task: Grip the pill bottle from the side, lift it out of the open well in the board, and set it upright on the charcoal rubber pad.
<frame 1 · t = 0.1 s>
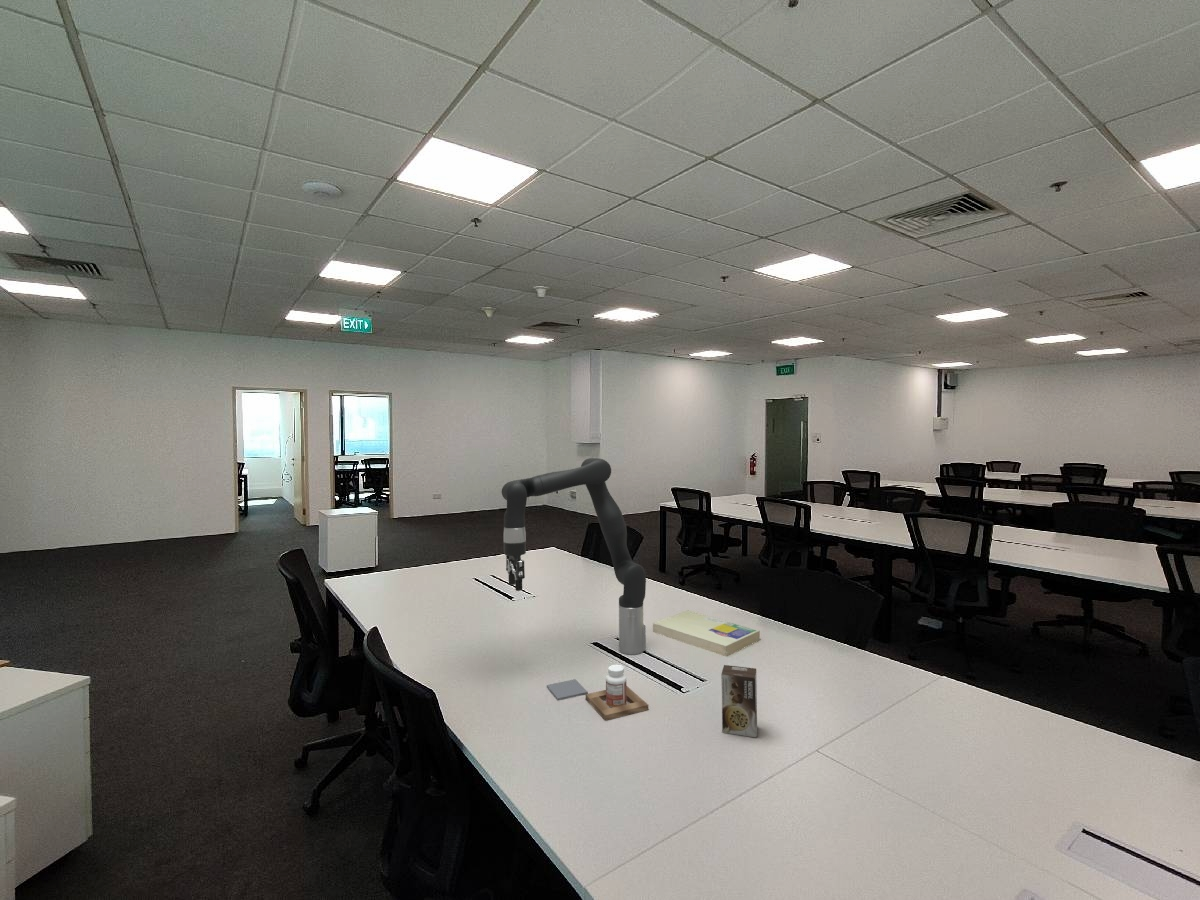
hand: (515, 587, 182), 29 cm above the table, tool pointing down, fingers open, 8 cm apart
pill bottle: (616, 705, 159), resting in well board
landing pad: (566, 690, 169), on the table
coffee box: (739, 730, 145), on the table
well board: (616, 704, 159), on the table
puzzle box: (705, 637, 216), on the table
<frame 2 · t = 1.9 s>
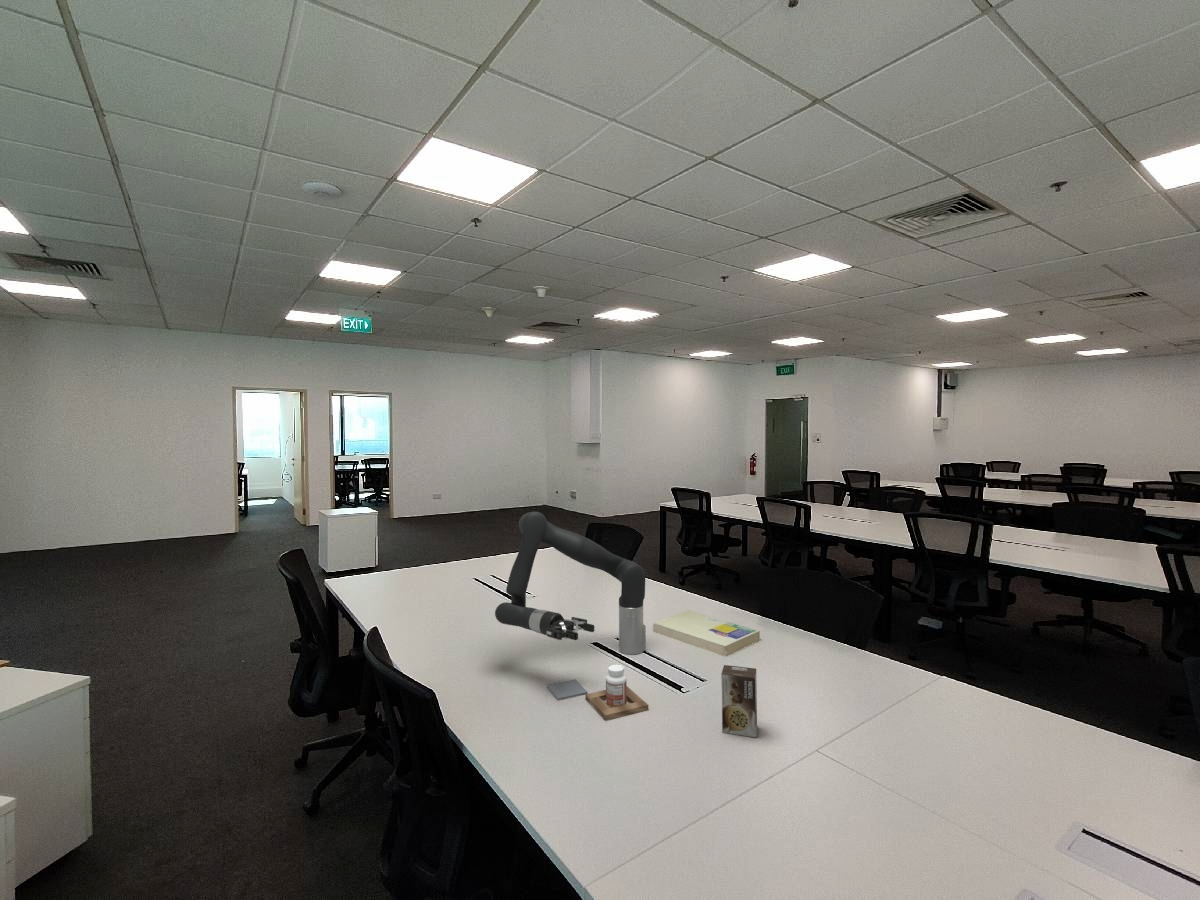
hand: (585, 632, 165), 19 cm above the table, tool horizontal, fingers open, 8 cm apart
nothing on the table moved.
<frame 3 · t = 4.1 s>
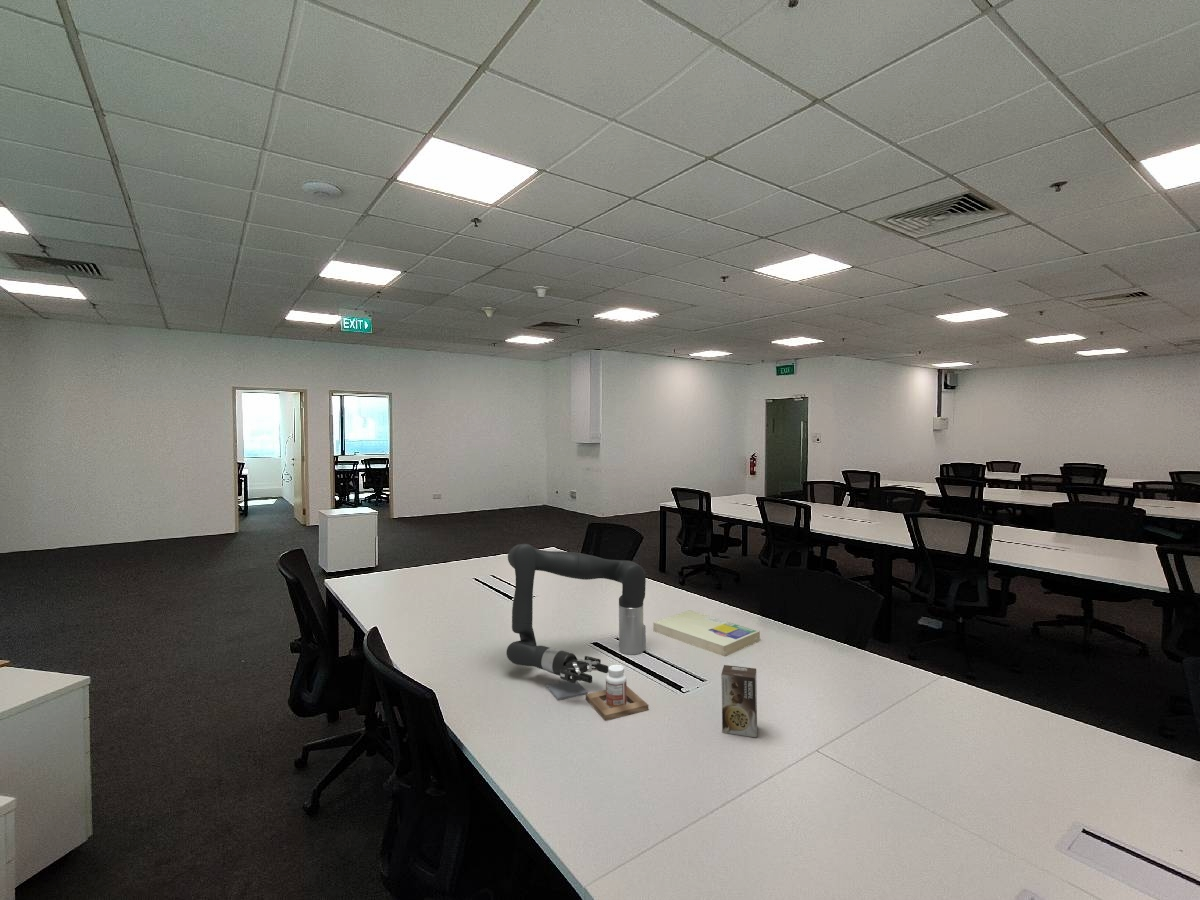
hand: (599, 674, 163), 8 cm above the table, tool horizontal, fingers open, 8 cm apart
nothing on the table moved.
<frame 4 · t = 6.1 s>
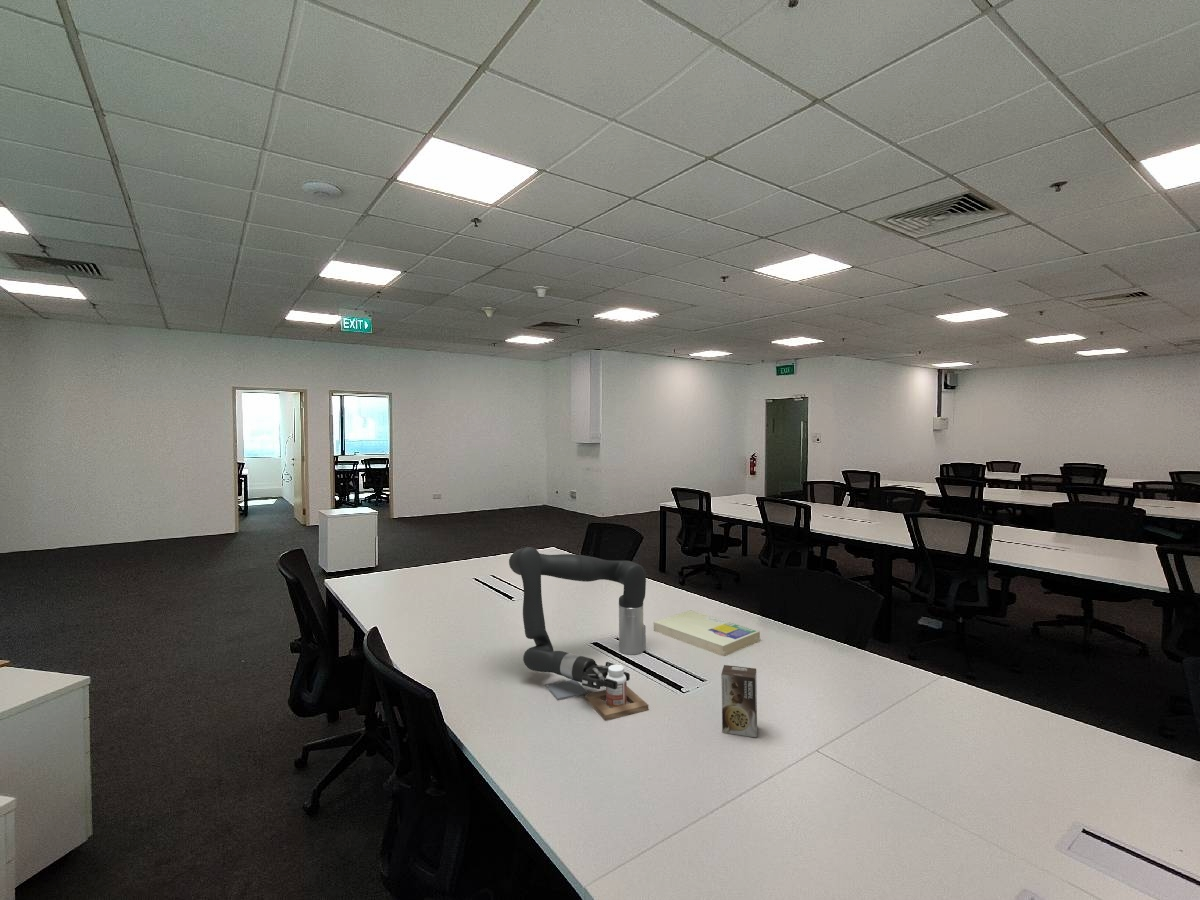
hand: (622, 681, 158), 8 cm above the table, tool horizontal, fingers closed on pill bottle, 6 cm apart
pill bottle: (616, 705, 159), resting in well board, touching gripper
everything else where it was.
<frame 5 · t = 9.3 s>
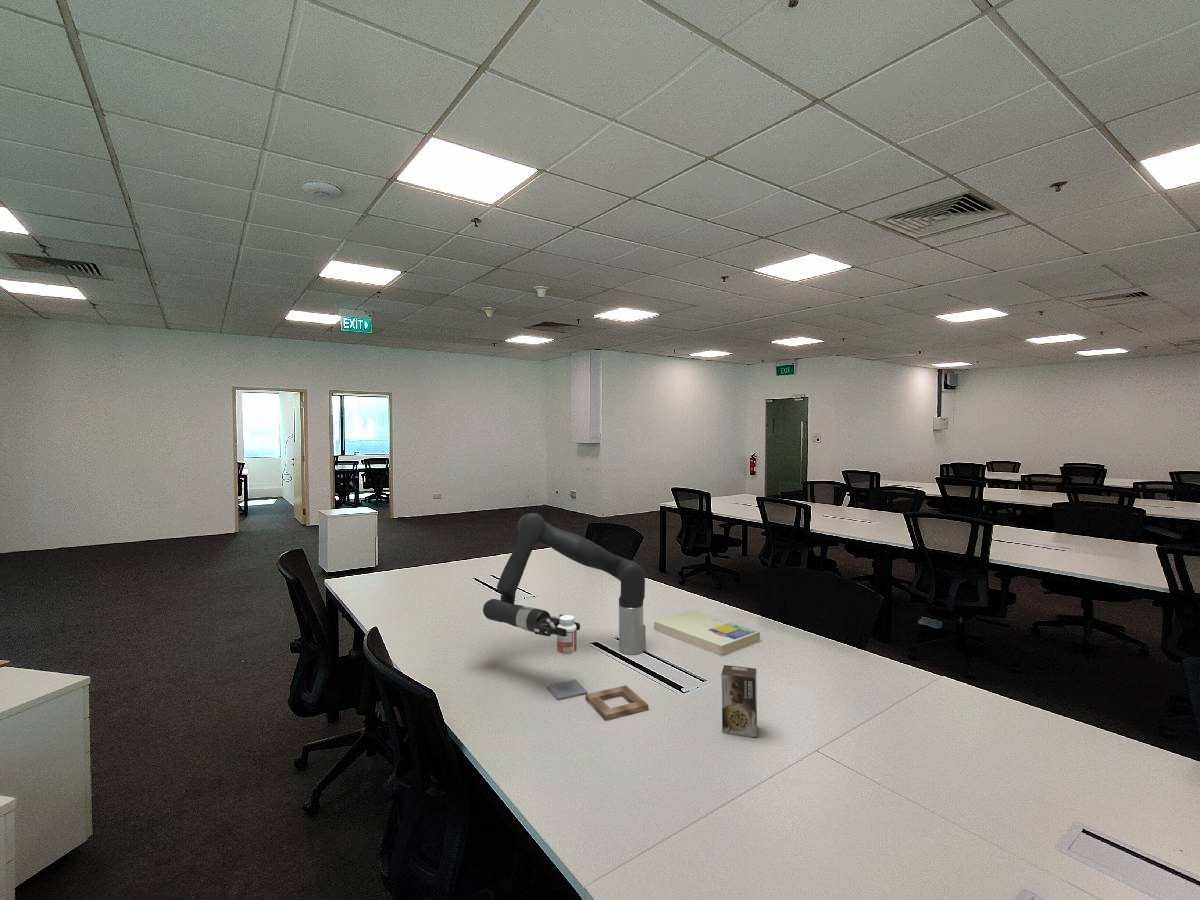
hand: (572, 630, 167), 20 cm above the table, tool horizontal, fingers closed on pill bottle, 6 cm apart
pill bottle: (566, 652, 168), point 12 cm above the table, touching gripper
when the fingers open (9 cm above the table, at t = 12.8 s): pill bottle drops 1 cm, resting on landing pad.
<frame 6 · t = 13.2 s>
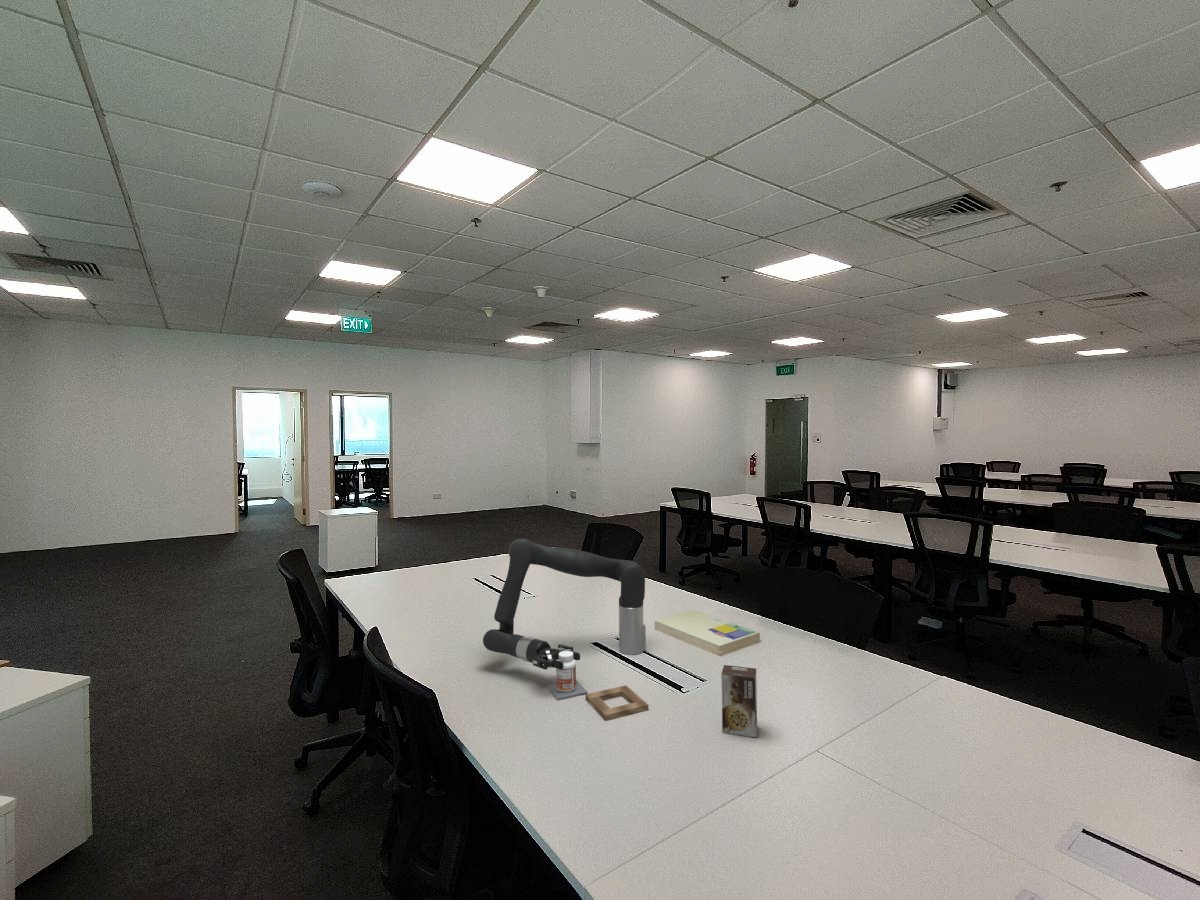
hand: (571, 661, 167), 10 cm above the table, tool horizontal, fingers open, 8 cm apart
pill bottle: (566, 688, 169), resting on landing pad
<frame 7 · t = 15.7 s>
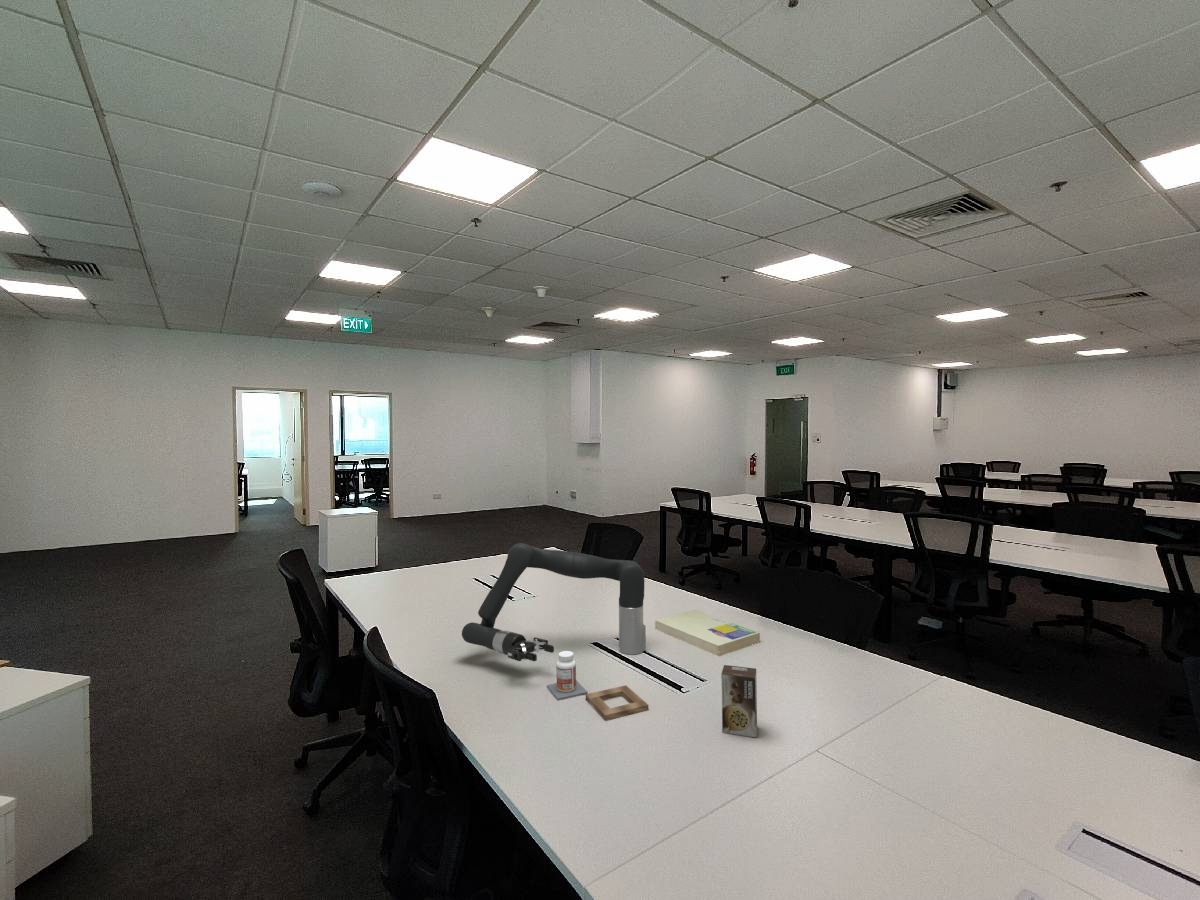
hand: (544, 653, 174), 10 cm above the table, tool horizontal, fingers open, 8 cm apart
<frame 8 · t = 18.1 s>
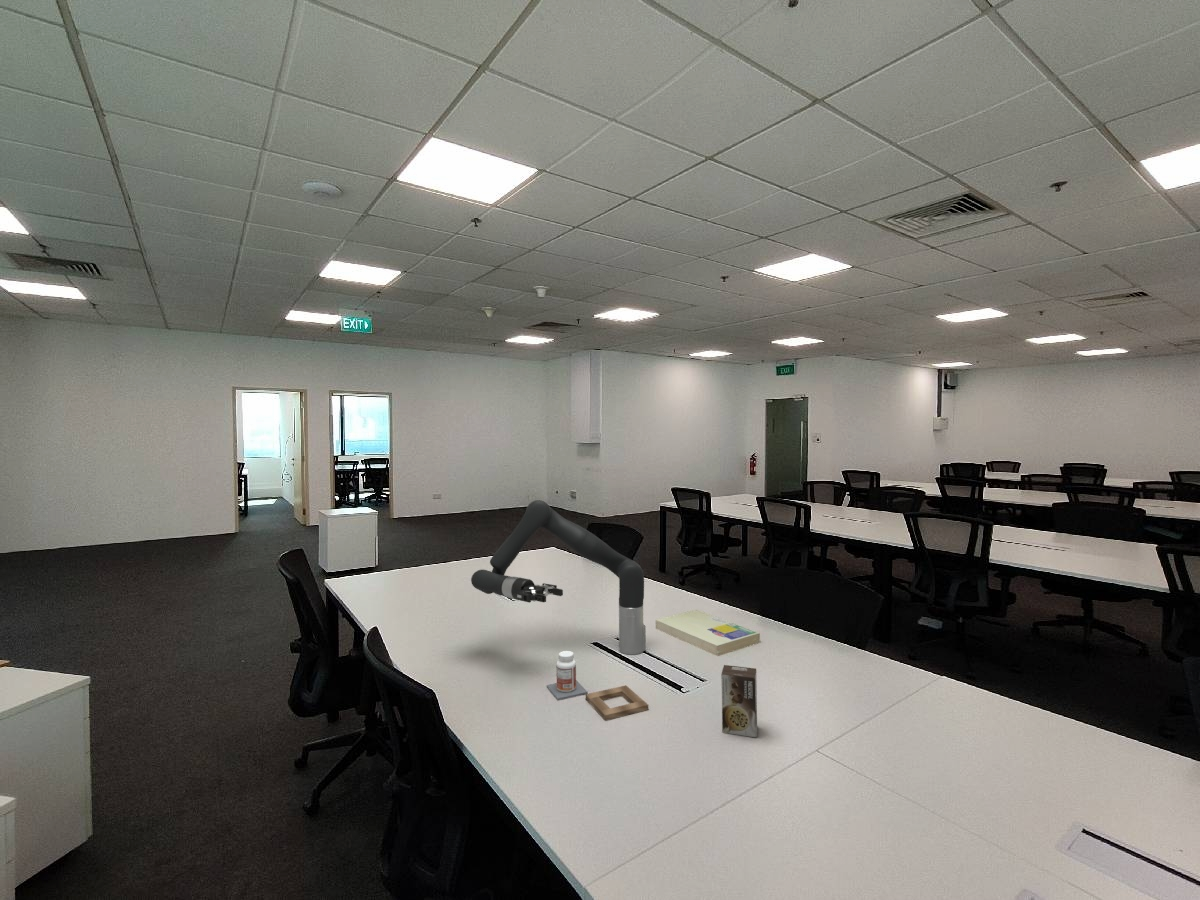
hand: (554, 595, 175), 28 cm above the table, tool horizontal, fingers open, 8 cm apart
at the end: pill bottle inside the target area on the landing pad (0.1 cm from its centre), point 0.4 cm above the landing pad's base; pill bottle tilted 0°; the gripper is holding nothing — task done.
